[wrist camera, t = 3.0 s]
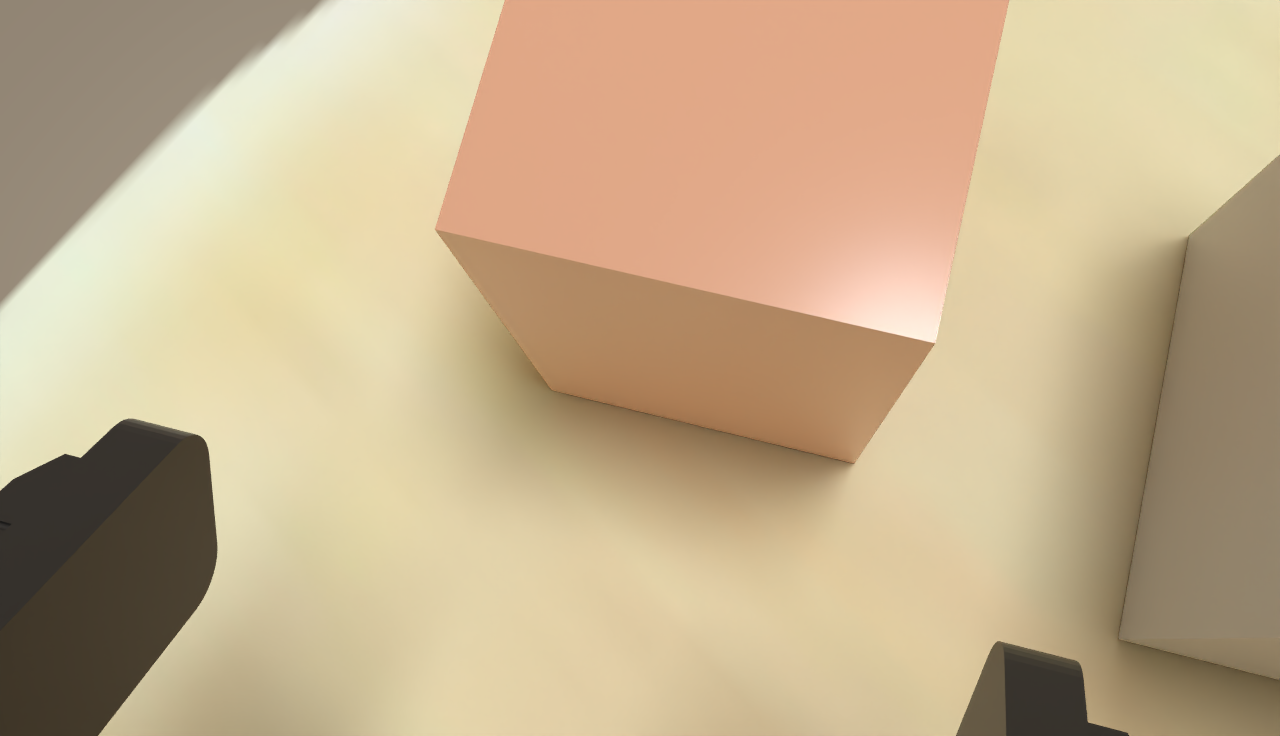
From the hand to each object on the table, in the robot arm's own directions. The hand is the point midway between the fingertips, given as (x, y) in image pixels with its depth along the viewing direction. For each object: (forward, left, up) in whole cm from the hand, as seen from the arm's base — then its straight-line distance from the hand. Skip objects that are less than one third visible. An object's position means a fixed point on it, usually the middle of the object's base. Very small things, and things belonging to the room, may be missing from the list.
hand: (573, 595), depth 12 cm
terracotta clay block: (-6, -6, -12) cm, 15 cm away
